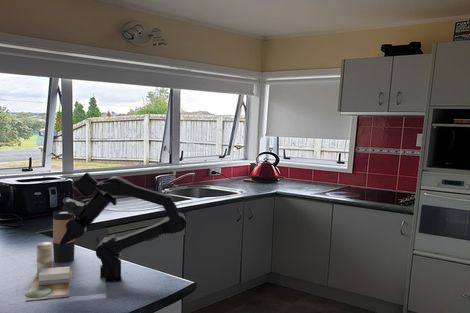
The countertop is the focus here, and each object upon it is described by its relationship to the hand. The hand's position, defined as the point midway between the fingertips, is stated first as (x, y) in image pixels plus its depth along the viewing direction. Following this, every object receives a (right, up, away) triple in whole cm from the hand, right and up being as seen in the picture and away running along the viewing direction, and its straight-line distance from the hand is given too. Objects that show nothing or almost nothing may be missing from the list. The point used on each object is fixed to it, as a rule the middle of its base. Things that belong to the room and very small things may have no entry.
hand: (64, 239), depth 139 cm
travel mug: (-8, -13, +18) cm, 23 cm away
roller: (-8, -13, +2) cm, 15 cm away
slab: (-1, -13, -4) cm, 14 cm away
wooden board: (-2, -14, -4) cm, 15 cm away
